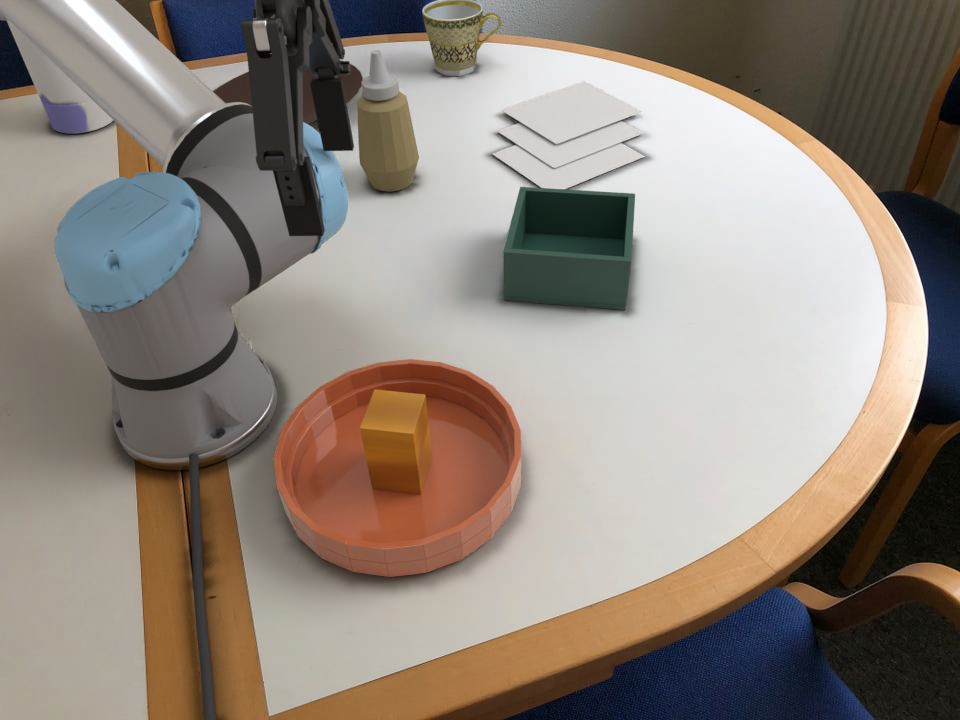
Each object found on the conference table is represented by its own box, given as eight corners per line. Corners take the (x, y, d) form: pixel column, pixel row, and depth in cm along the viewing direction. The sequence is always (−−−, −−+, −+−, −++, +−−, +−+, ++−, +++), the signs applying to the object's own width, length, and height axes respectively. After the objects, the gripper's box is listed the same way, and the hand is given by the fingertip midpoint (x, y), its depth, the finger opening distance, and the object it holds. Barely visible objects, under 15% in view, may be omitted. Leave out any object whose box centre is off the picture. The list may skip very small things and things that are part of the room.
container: (131, 114, 128) (85, -17, 114) (79, 140, 122) (23, 5, 108) (91, 101, 132) (42, -27, 118) (39, 125, 126) (-19, -7, 112)
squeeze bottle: (395, 161, 114) (380, 34, 101) (433, 180, 109) (422, 50, 97) (351, 182, 110) (329, 53, 97) (388, 204, 105) (370, 71, 93)
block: (421, 495, 69) (413, 433, 64) (371, 488, 70) (359, 427, 64) (432, 455, 72) (425, 394, 67) (385, 450, 73) (374, 389, 68)
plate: (217, 73, 138) (212, 52, 136) (376, 71, 137) (374, 49, 134) (164, 152, 118) (157, 129, 115) (351, 150, 116) (347, 127, 114)
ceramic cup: (421, 79, 134) (416, 19, 127) (433, 56, 141) (429, -3, 134) (497, 82, 132) (496, 21, 125) (505, 58, 139) (505, -1, 132)
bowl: (502, 596, 62) (502, 565, 59) (247, 561, 66) (233, 529, 62) (535, 404, 78) (536, 370, 74) (326, 382, 81) (318, 350, 78)
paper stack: (687, 139, 115) (688, 134, 115) (551, 194, 105) (551, 190, 105) (583, 85, 129) (584, 80, 129) (455, 129, 120) (455, 125, 119)
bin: (625, 310, 88) (631, 261, 83) (503, 300, 90) (503, 252, 85) (630, 240, 97) (635, 193, 93) (520, 232, 99) (520, 186, 95)
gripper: (276, -30, 44) (340, 276, 58) (353, -134, 62) (387, 119, 77) (145, -26, 45) (241, 277, 59) (259, -130, 63) (311, 121, 77)
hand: (324, 188), depth 68 cm, fingers open, 13 cm apart
